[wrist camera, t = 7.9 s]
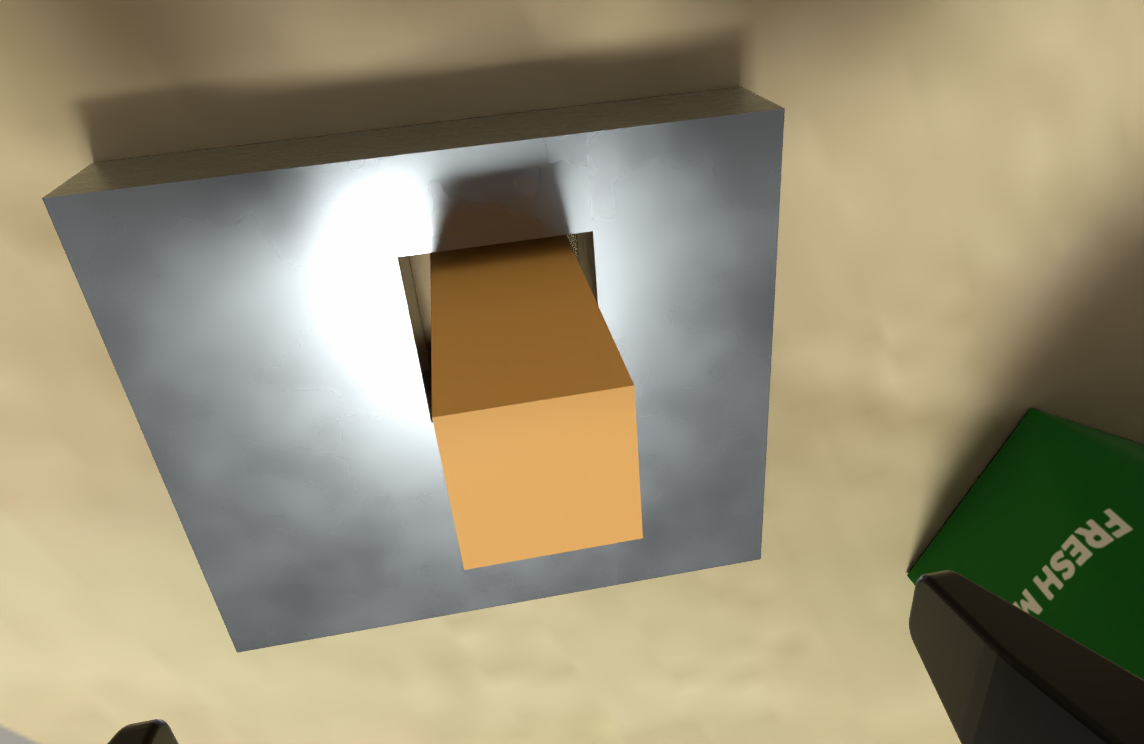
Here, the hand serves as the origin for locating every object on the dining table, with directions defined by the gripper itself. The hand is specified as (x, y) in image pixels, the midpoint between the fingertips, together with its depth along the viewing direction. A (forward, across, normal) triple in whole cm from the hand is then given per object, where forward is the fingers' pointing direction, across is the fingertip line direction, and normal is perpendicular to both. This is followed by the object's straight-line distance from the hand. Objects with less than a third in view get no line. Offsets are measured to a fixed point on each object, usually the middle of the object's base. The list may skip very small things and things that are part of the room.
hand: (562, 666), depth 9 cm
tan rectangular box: (+11, 0, 0) cm, 11 cm away
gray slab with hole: (+11, +1, +2) cm, 12 cm away
